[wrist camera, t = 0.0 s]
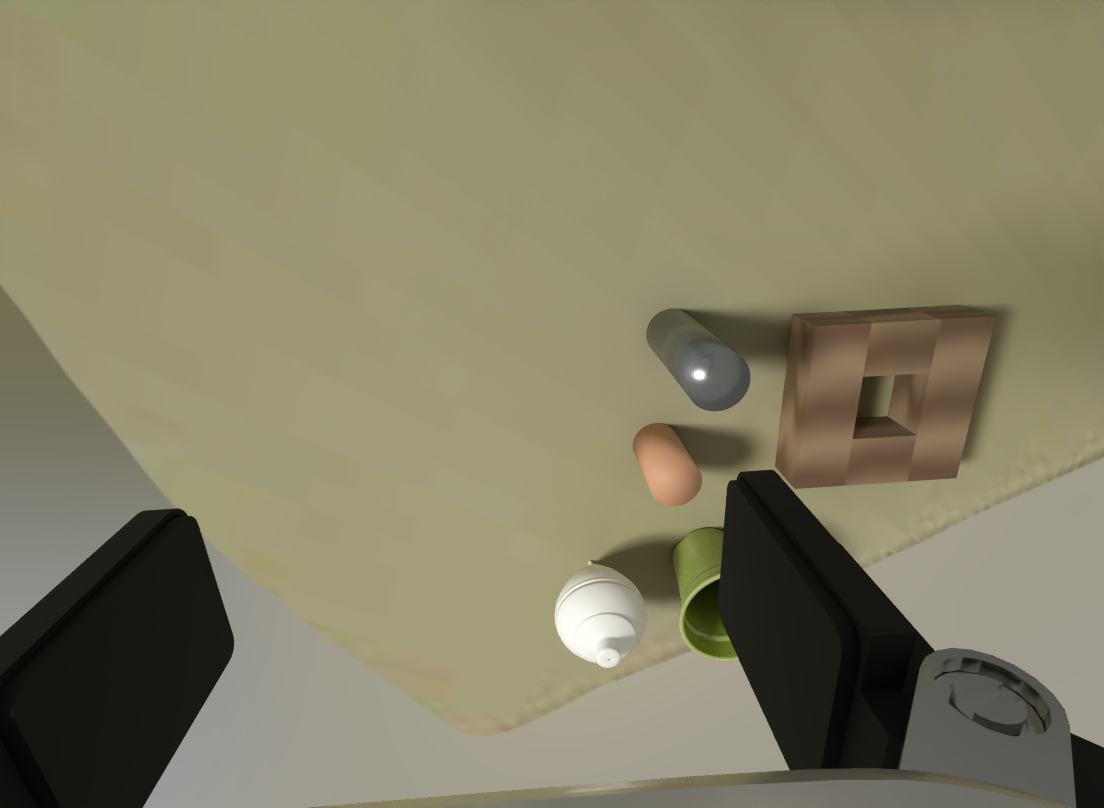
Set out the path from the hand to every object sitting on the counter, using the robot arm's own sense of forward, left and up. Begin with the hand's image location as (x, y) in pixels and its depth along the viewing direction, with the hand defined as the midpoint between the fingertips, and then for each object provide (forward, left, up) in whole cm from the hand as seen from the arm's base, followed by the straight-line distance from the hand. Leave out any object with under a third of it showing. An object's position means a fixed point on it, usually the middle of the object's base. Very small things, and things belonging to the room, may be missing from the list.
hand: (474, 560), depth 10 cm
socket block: (+12, +30, -37) cm, 49 cm away
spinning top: (+28, +6, -37) cm, 47 cm away
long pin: (+6, +13, -37) cm, 40 cm away
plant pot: (+28, +17, -37) cm, 49 cm away
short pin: (+16, +12, -37) cm, 42 cm away
